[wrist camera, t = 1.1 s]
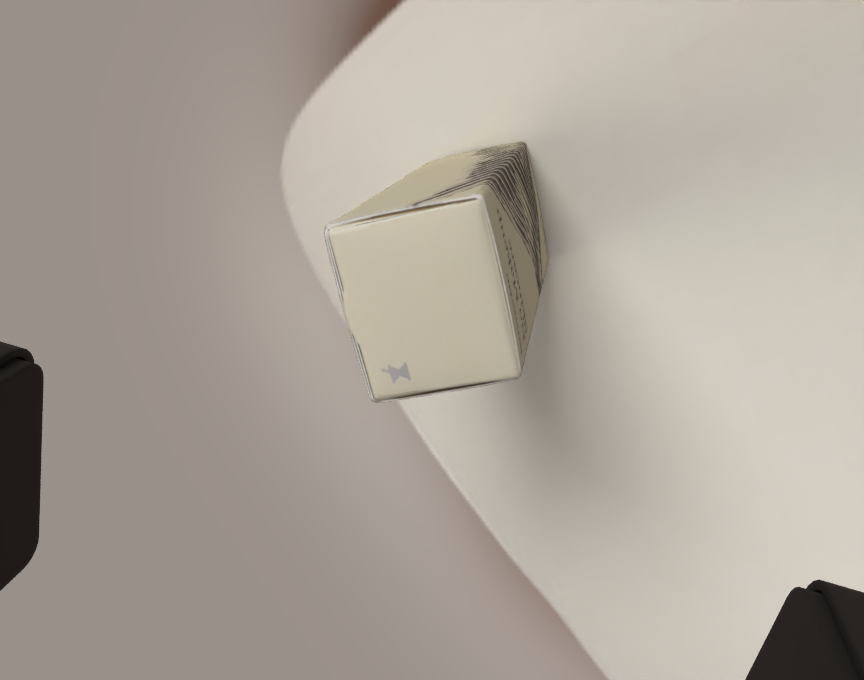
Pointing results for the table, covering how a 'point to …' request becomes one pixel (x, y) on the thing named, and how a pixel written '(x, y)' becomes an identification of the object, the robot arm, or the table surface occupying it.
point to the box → (443, 274)
